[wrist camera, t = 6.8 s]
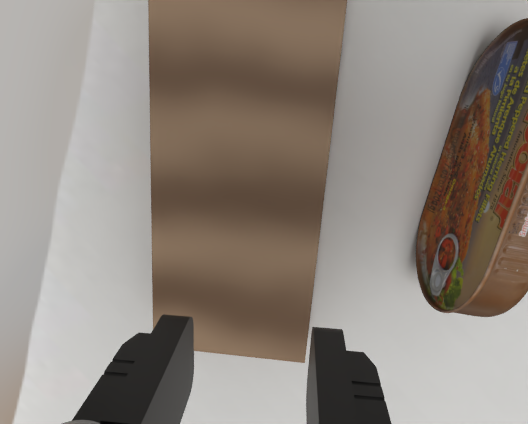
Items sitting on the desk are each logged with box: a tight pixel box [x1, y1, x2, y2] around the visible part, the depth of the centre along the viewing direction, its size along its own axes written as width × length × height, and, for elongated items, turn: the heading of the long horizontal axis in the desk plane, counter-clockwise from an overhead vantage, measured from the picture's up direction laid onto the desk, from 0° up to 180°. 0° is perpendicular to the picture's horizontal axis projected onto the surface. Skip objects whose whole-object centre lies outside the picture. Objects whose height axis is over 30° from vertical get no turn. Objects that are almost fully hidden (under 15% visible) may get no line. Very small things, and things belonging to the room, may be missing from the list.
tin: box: [416, 18, 528, 317], centre depth 22 cm, size 15×3×8 cm, turn 169°
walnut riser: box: [148, 0, 347, 363], centre depth 26 cm, size 22×10×3 cm, turn 176°
